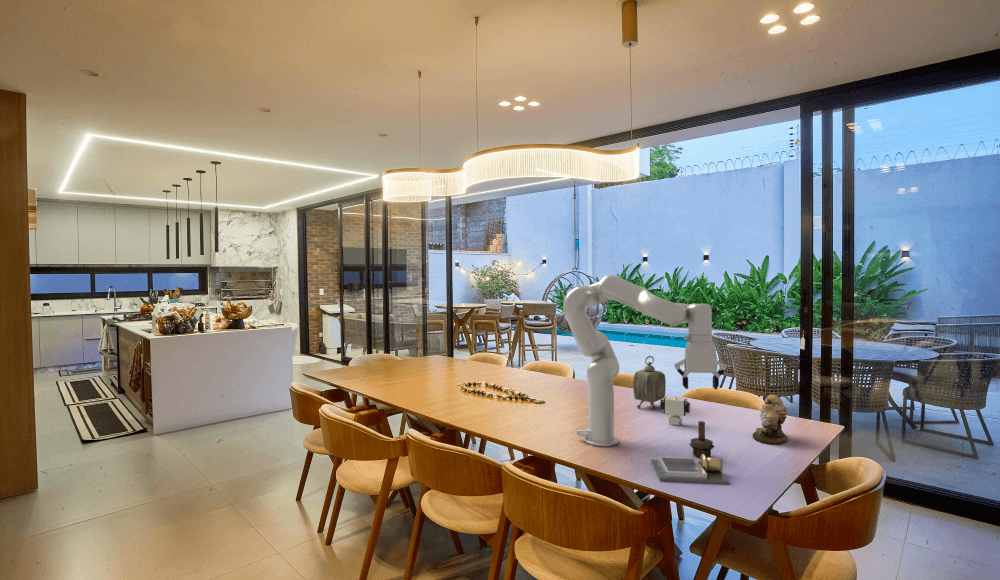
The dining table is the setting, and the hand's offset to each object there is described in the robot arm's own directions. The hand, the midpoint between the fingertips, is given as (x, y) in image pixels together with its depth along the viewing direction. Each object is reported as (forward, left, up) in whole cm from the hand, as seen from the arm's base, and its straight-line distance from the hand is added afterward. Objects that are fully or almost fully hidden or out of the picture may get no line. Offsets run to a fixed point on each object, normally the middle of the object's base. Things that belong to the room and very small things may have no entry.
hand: (700, 388), depth 175 cm
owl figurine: (+32, +24, -24) cm, 46 cm away
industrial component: (0, 0, -24) cm, 24 cm away
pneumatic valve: (0, +40, -24) cm, 47 cm away
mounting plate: (-8, -17, -24) cm, 30 cm away
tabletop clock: (-6, +68, -24) cm, 72 cm away
